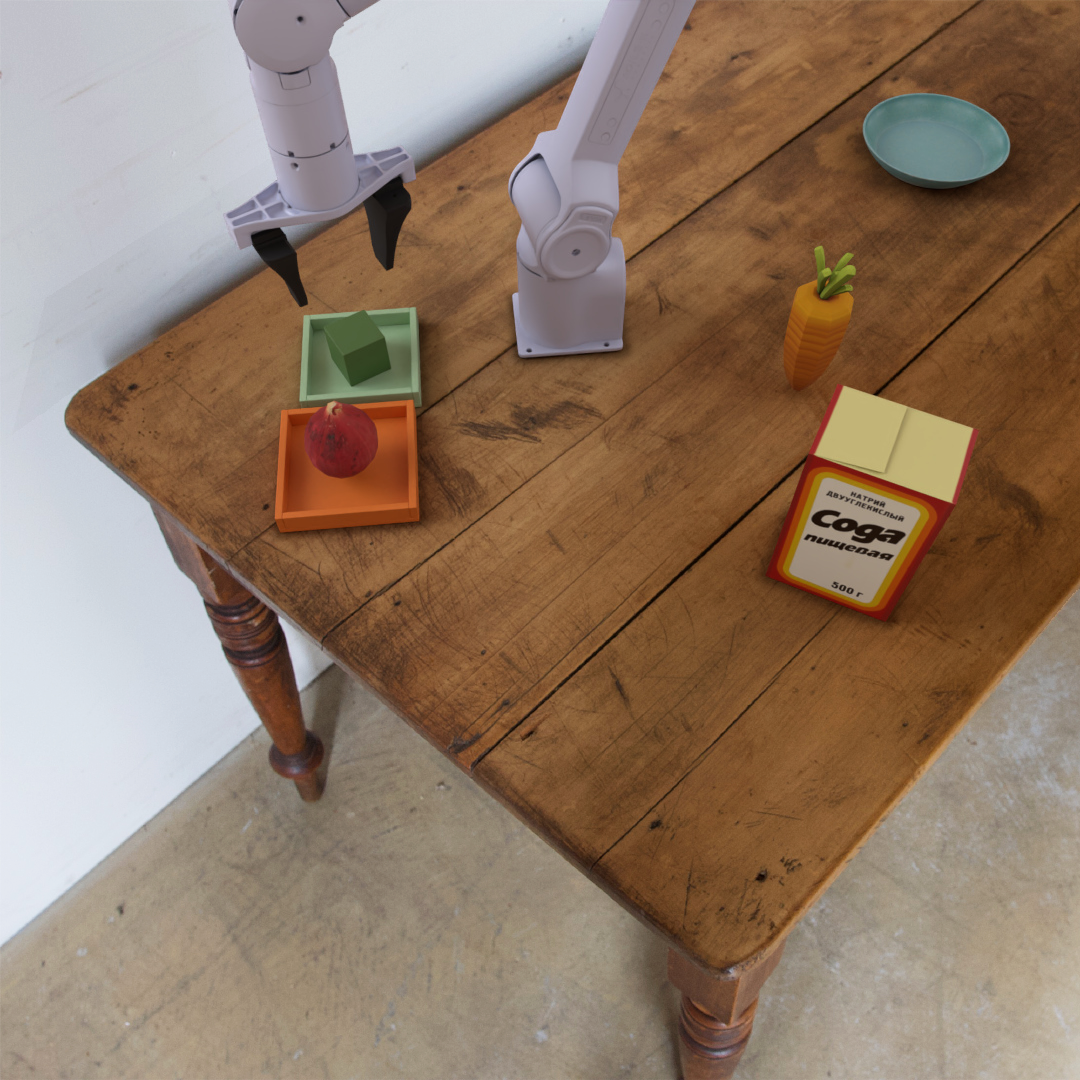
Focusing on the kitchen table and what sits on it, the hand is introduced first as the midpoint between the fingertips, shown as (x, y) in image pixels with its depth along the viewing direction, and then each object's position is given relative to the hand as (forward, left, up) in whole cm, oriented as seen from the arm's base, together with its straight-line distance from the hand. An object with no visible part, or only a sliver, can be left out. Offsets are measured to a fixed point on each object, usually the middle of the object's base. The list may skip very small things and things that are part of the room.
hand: (342, 280), depth 81 cm
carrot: (-38, +6, -11) cm, 40 cm away
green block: (0, 0, -10) cm, 10 cm away
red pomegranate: (+1, +12, -10) cm, 15 cm away
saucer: (-59, -24, -11) cm, 64 cm away
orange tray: (+1, +12, -10) cm, 16 cm away
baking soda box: (-37, +24, -11) cm, 46 cm away
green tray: (0, 0, -10) cm, 10 cm away
